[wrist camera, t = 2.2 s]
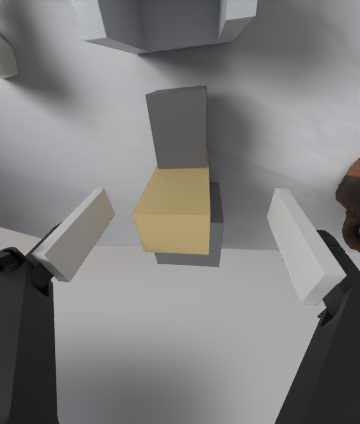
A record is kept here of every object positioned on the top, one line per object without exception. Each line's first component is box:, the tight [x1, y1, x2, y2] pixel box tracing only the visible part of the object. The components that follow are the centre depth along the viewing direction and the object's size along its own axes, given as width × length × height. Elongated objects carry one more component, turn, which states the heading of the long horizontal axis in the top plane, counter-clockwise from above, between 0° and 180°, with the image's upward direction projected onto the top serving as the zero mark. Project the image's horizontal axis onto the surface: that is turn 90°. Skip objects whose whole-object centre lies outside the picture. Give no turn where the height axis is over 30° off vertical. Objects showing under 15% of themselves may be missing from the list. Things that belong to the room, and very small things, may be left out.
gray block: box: [155, 183, 224, 267], centre depth 21 cm, size 7×7×7 cm
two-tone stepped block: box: [132, 86, 210, 255], centre depth 15 cm, size 4×17×10 cm, turn 5°
